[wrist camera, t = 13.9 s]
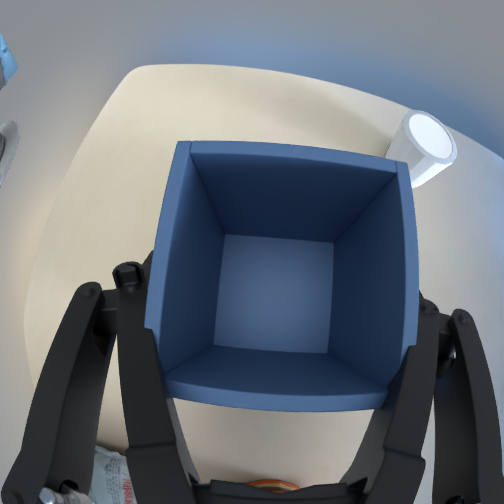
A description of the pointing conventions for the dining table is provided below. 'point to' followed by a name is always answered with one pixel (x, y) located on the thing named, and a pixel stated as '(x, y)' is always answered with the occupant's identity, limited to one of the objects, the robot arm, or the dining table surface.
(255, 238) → the blue bin
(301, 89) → the dining table surface
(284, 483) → the hamburger
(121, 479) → the packaged food
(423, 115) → the white cup
